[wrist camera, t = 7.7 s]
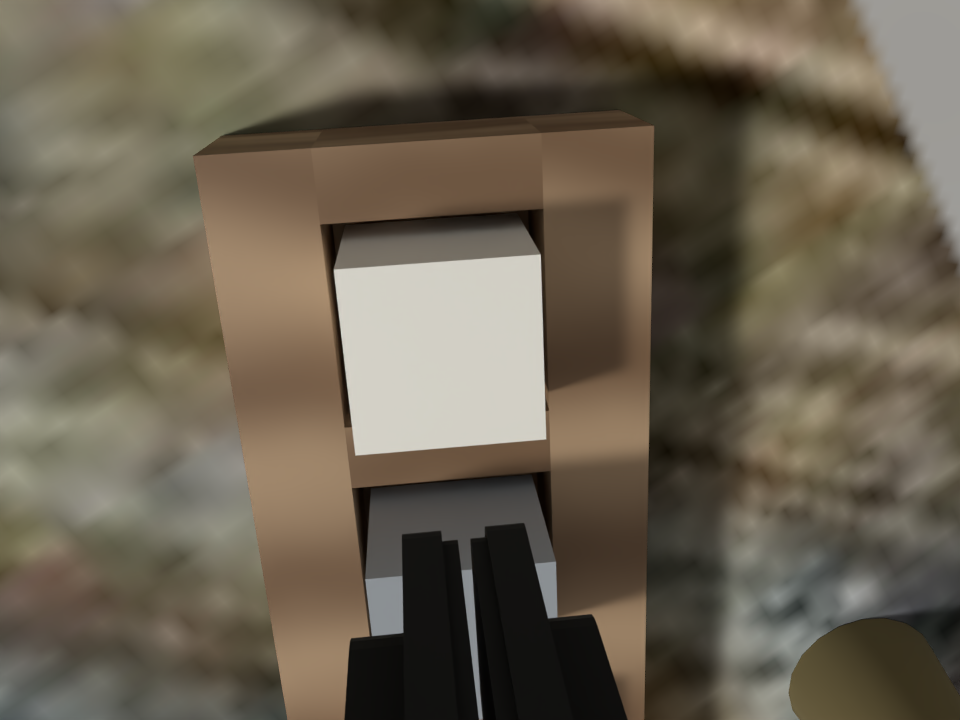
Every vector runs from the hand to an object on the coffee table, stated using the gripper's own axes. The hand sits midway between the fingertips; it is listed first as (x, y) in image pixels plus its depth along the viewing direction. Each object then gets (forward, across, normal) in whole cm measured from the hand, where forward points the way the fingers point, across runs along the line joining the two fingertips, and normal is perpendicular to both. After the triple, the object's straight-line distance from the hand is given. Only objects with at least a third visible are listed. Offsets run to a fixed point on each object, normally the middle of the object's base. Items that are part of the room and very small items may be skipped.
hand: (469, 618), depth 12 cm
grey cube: (+14, 0, +9) cm, 17 cm away
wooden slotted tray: (+18, 0, +9) cm, 20 cm away
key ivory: (+16, 0, +1) cm, 16 cm away
